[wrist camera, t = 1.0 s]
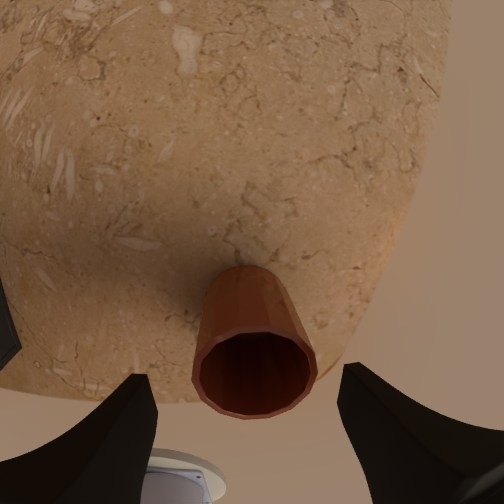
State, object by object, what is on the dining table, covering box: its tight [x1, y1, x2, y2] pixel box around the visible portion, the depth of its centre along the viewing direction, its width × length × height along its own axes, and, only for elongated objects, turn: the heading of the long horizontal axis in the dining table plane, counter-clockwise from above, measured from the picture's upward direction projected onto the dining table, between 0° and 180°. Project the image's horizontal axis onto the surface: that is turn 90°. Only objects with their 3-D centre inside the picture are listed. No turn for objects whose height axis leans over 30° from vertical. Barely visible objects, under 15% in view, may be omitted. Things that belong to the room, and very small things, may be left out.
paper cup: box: [191, 266, 318, 420], centre depth 14 cm, size 5×5×7 cm
